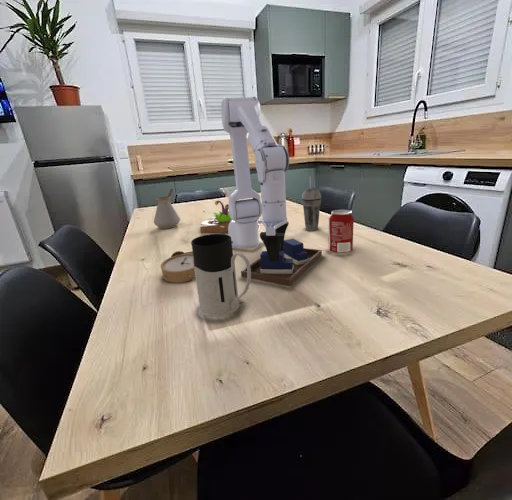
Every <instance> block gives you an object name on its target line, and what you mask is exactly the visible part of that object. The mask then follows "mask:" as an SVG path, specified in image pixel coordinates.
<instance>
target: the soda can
mask: <svg viewBox="0 0 512 500" xmlns="http://www.w3.org/2000/svg"><path fill="white" fill-rule="evenodd" d="M354 221H355V218H354V216H353V214H352V210H349V209H334V210H332V211H331V214H330V215H329V217H328V251H329V252H331V253H333V254H348V253H352V252H353V248H354V247H353V245H354V243H353V242H354V224H355V222H354Z"/></svg>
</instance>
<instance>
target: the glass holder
mask: <svg viewBox="0 0 512 500" xmlns="http://www.w3.org/2000/svg"><path fill="white" fill-rule="evenodd" d="M190 243H191V244H190V245H191V252H192V251H193V263H194V271H195V277H194V278H195V283H196V284H195V285H196V291H197V297H198V304H199V308H198V316H199V318H201V319H202V320H206V317H211V318H220V317H225V316H229V315H232V314H233V313H235V312H236V311H237V310H238V309H239V307H240V301H239V300H240V299H241V298H242V297H243V296H244V295H246V293H248V290H249V288H250V285H251V280H252V279H251V267H250V265H251V263H250V260H249V258H248V257H247V255H246V254H244V253H242V252H235V253H234V252H233V248H232V241H231V236H229V234H227V233H210V234H204V235H200V236H197V237H195V238H193V239H192V240H191V241H190ZM233 253H234V254H233ZM237 256H239V257H240V258H242V260H244V263H245V266H246V267H247V278H246V284H245V287H244V289H243V292H242V293H241V294H239V293H238V283H237V273H236V263H235V261H236V257H237ZM246 267H245V268H246Z"/></svg>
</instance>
